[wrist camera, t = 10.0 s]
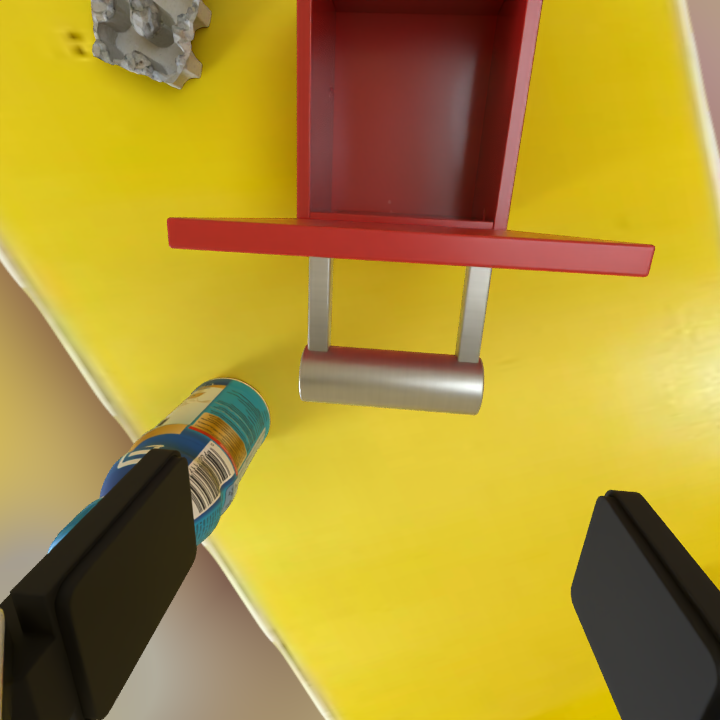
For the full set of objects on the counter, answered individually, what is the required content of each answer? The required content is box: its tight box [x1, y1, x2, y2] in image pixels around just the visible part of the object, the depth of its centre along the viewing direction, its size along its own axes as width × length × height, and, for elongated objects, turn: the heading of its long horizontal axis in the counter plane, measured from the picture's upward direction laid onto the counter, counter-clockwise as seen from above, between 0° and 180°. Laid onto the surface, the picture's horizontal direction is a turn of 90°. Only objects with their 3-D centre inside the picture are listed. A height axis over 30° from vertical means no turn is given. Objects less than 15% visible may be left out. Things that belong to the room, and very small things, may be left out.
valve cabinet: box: [297, 0, 543, 230], centre depth 28 cm, size 15×13×10 cm
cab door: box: [167, 217, 655, 415], centre depth 19 cm, size 15×13×6 cm
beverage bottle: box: [48, 378, 270, 553], centre depth 34 cm, size 8×8×20 cm
